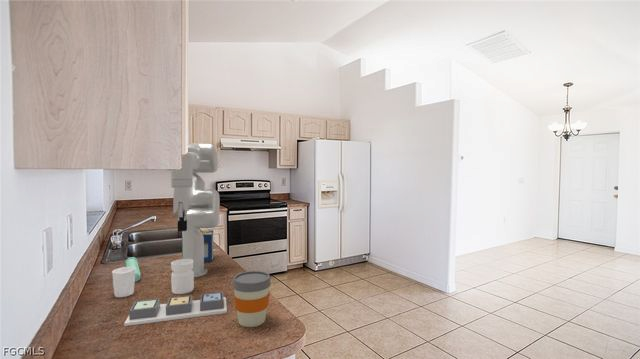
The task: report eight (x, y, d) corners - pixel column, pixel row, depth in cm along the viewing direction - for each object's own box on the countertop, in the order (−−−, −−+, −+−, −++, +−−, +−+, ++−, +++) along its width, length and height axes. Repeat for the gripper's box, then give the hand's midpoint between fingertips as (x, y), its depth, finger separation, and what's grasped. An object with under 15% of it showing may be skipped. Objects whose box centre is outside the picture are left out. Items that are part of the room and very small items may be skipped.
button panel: (133, 310, 114) (133, 299, 114) (225, 299, 124) (225, 289, 124) (124, 326, 103) (124, 314, 103) (226, 312, 113) (226, 301, 113)
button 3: (203, 301, 119) (203, 294, 119) (220, 299, 121) (220, 292, 121) (203, 308, 113) (203, 301, 113) (220, 306, 115) (220, 299, 115)
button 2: (171, 305, 116) (171, 298, 115) (189, 302, 117) (189, 296, 117) (169, 312, 110) (169, 304, 110) (188, 310, 112) (188, 302, 112)
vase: (195, 285, 139) (195, 258, 138) (192, 293, 130) (192, 264, 130) (173, 286, 137) (173, 259, 136) (169, 294, 128) (168, 265, 128)
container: (138, 269, 141) (135, 254, 162) (124, 276, 139) (122, 260, 159) (144, 280, 143) (140, 264, 164) (130, 287, 140) (127, 270, 161)
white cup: (117, 291, 131) (117, 267, 131) (138, 289, 133) (138, 266, 133) (109, 298, 124) (108, 273, 123) (131, 297, 125) (130, 272, 125)
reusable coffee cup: (238, 333, 99) (238, 286, 99) (229, 316, 110) (228, 274, 110) (275, 324, 105) (276, 279, 105) (263, 309, 116) (263, 268, 116)
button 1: (137, 308, 112) (137, 301, 112) (156, 306, 114) (156, 299, 114) (133, 316, 106) (133, 309, 106) (153, 314, 108) (153, 306, 108)
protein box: (185, 258, 179) (184, 231, 178) (213, 256, 182) (213, 230, 182) (181, 263, 168) (181, 235, 168) (212, 262, 172) (211, 233, 172)
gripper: (173, 182, 128) (174, 227, 129) (168, 184, 114) (169, 235, 115) (193, 182, 131) (194, 226, 131) (191, 184, 116) (191, 234, 117)
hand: (182, 230), depth 123 cm, fingers closed
